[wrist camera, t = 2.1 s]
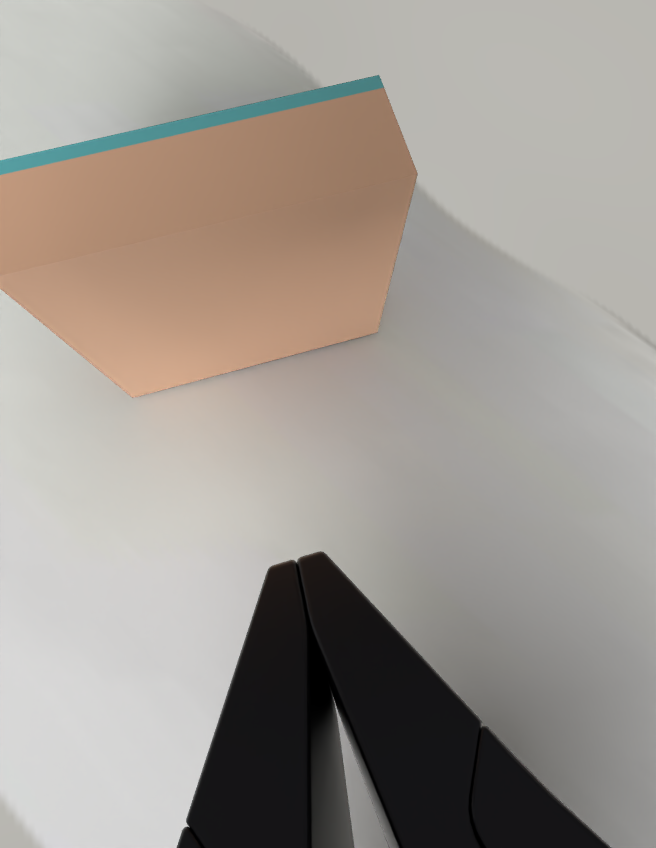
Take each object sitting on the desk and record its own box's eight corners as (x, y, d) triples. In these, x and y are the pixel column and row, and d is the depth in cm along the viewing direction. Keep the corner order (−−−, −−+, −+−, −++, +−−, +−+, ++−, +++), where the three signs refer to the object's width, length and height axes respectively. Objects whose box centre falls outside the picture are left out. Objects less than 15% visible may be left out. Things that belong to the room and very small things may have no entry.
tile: (377, 332, 21) (417, 173, 12) (132, 398, 20) (-12, 278, 11) (355, 268, 22) (378, 75, 13) (118, 329, 21) (-29, 166, 12)
